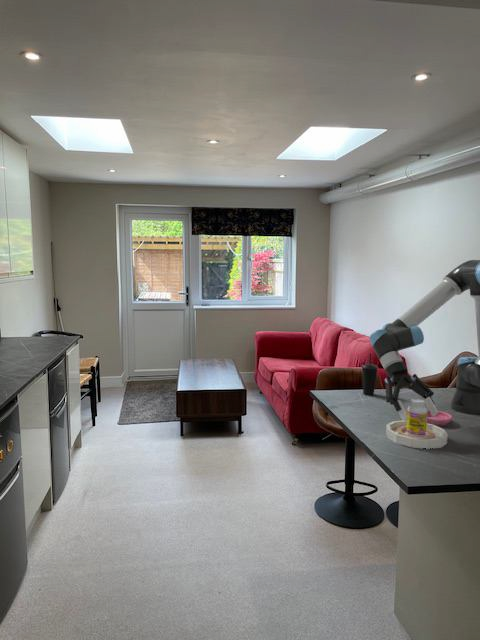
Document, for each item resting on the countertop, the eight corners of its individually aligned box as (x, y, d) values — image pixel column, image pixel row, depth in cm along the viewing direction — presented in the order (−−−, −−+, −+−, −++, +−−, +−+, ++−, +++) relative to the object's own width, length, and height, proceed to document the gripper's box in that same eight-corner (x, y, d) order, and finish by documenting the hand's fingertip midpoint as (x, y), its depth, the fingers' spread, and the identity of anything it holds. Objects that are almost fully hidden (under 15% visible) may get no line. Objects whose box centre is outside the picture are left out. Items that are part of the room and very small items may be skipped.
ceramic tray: (439, 430, 174) (440, 423, 173) (451, 451, 154) (452, 442, 154) (384, 425, 178) (384, 418, 178) (388, 445, 159) (389, 436, 158)
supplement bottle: (405, 436, 164) (407, 401, 163) (406, 430, 170) (408, 396, 169) (425, 439, 162) (427, 403, 160) (426, 433, 168) (428, 398, 167)
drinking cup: (375, 392, 226) (377, 352, 224) (378, 396, 218) (380, 355, 216) (359, 391, 227) (361, 351, 224) (361, 396, 219) (363, 354, 217)
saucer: (418, 424, 181) (418, 417, 180) (417, 415, 192) (418, 408, 192) (453, 429, 176) (453, 421, 176) (450, 419, 188) (450, 411, 188)
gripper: (414, 369, 183) (441, 417, 171) (362, 373, 174) (386, 425, 161) (425, 358, 177) (453, 407, 165) (371, 362, 168) (398, 415, 156)
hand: (420, 416), depth 163 cm, fingers open, 13 cm apart
